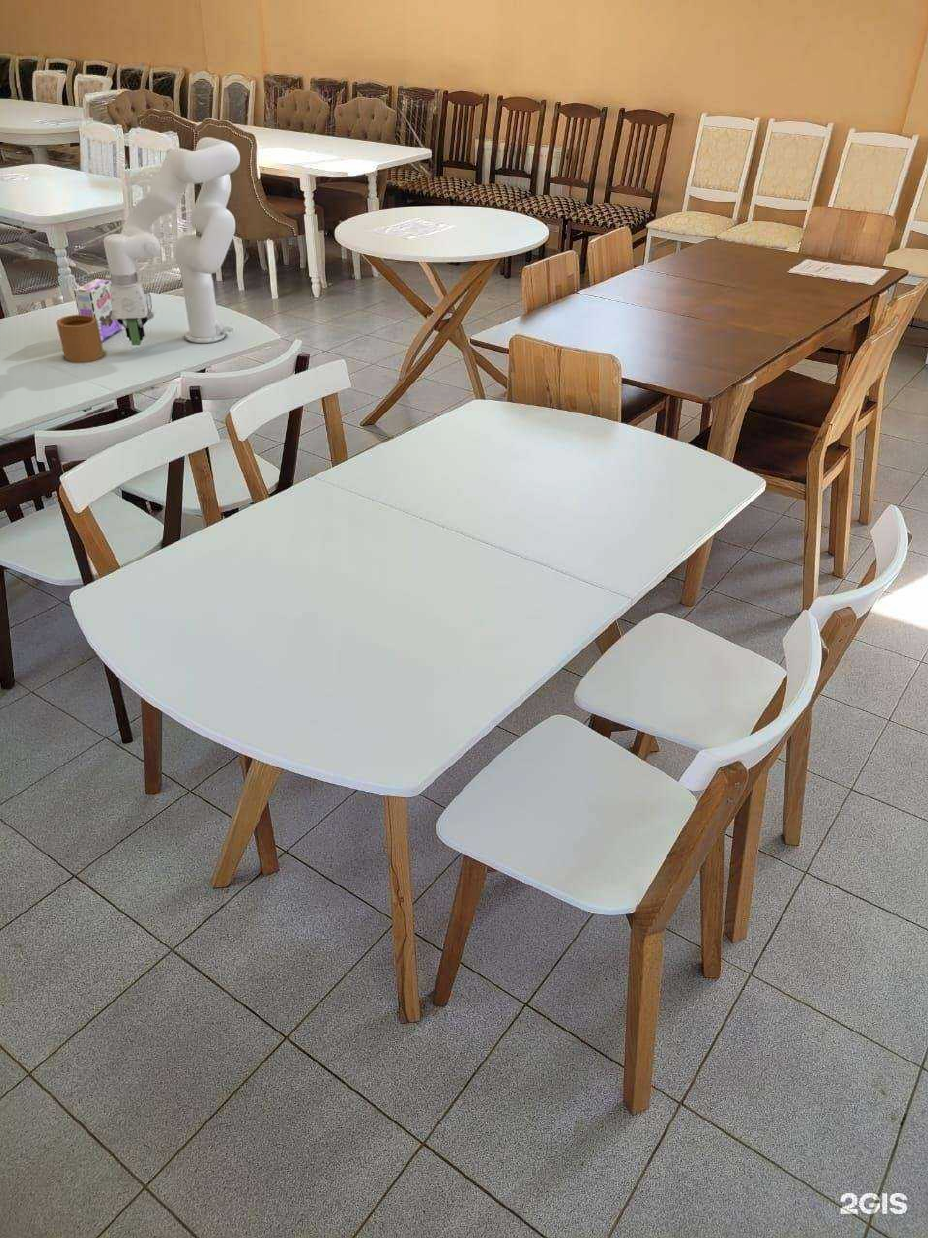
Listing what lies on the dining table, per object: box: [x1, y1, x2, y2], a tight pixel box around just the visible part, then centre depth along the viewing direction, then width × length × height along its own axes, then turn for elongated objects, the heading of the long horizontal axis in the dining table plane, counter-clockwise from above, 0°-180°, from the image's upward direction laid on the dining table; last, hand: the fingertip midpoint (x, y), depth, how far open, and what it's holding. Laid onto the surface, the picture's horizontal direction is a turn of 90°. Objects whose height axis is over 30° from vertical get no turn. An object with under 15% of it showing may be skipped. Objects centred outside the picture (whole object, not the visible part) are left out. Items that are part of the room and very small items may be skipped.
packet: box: [127, 318, 143, 346], centre depth 283 cm, size 3×6×8 cm, turn 10°
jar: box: [56, 314, 105, 363], centre depth 281 cm, size 11×11×11 cm
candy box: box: [73, 278, 122, 342], centre depth 295 cm, size 14×6×16 cm, turn 168°
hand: (136, 338), depth 285 cm, fingers closed on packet, 2 cm apart
